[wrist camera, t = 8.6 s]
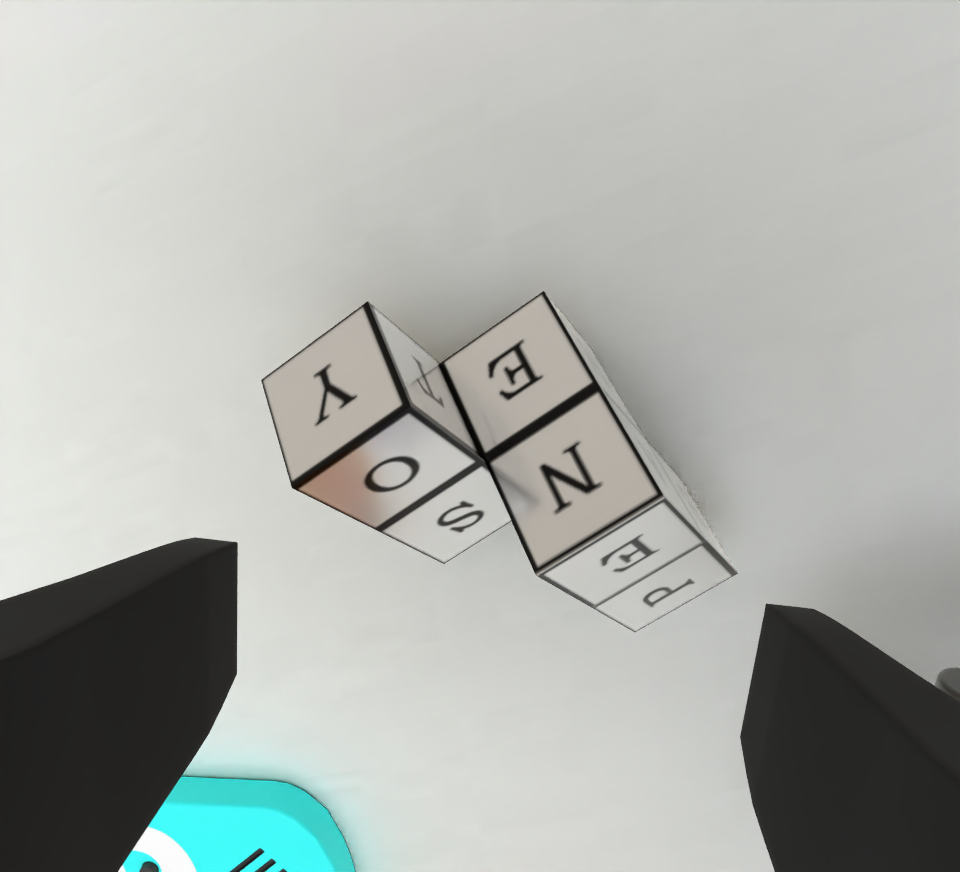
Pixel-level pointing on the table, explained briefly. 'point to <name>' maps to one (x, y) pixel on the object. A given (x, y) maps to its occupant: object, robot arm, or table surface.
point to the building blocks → (496, 457)
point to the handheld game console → (239, 830)
